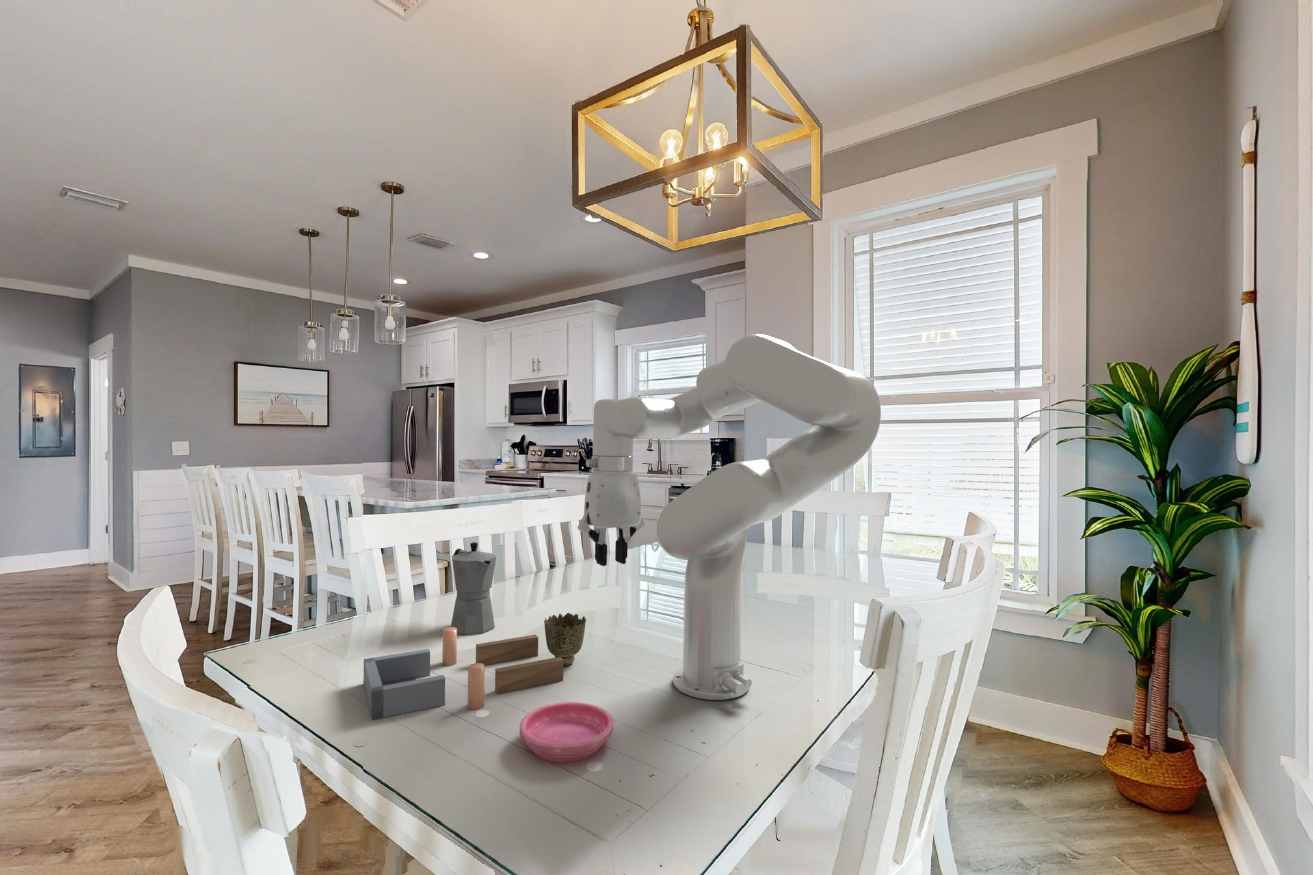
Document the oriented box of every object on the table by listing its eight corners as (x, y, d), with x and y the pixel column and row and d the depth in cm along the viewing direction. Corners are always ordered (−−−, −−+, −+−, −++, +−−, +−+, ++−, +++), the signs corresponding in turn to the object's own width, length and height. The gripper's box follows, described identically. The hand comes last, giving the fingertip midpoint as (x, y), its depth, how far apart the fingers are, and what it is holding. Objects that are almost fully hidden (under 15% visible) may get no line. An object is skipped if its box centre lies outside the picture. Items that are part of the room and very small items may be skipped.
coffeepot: (508, 630, 125) (510, 544, 124) (466, 641, 118) (467, 549, 118) (473, 613, 136) (475, 534, 136) (433, 622, 129) (434, 538, 129)
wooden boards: (563, 680, 100) (563, 659, 100) (497, 693, 95) (497, 671, 95) (535, 653, 112) (535, 634, 112) (475, 663, 107) (476, 644, 107)
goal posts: (485, 707, 90) (486, 667, 90) (469, 710, 89) (470, 670, 89) (454, 659, 108) (455, 626, 108) (441, 661, 107) (441, 628, 107)
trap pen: (444, 704, 91) (445, 678, 91) (371, 719, 85) (372, 691, 85) (428, 672, 103) (428, 648, 103) (363, 683, 98) (363, 659, 98)
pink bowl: (569, 713, 89) (570, 692, 89) (632, 742, 81) (632, 718, 81) (499, 746, 79) (500, 722, 79) (563, 782, 72) (563, 755, 72)
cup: (535, 662, 108) (535, 618, 108) (567, 652, 113) (568, 610, 113) (560, 674, 103) (561, 628, 102) (593, 663, 108) (594, 618, 108)
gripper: (579, 467, 105) (578, 572, 105) (660, 466, 113) (659, 563, 113) (563, 464, 111) (562, 563, 111) (641, 464, 119) (639, 556, 120)
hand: (611, 562), depth 112 cm, fingers open, 3 cm apart
